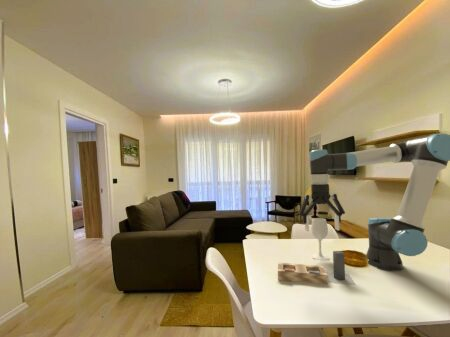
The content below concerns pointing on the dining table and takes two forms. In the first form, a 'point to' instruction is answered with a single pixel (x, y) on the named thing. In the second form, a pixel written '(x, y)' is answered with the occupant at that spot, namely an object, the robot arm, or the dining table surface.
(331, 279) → the pad
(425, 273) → the dining table surface
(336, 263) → the plug
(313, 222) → the wineglass
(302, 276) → the socket block
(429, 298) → the dining table surface
